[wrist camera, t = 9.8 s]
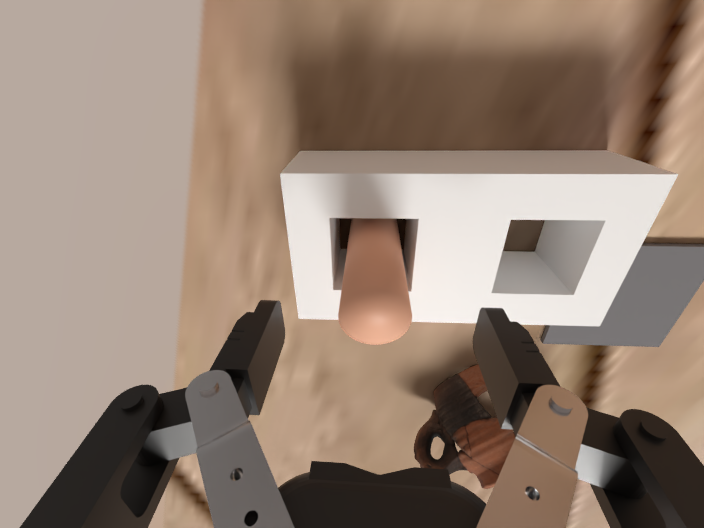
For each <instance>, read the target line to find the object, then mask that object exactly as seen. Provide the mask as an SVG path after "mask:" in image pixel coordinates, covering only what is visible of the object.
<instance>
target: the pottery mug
mask: <svg viewBox="0 0 704 528" xmlns="http://www.w3.org/2000/svg"><path fill="white" fill-rule="evenodd" d="M485 391H487V387H486V384H485V382H484V379H483V376H482V373H481V370H480V367H479V364H478V365H475V366H472V367H470V368H468V369H465V370H464V371H462V372H460V373H459V374H456V375H454V376H453V377H451V378H450V379H447V380H446V381H444V382H443V383H441V384H440V385H439V386H438V387H437V388H436V389H435V391H434V392H433V394H434V398H435V406H436V410H433V412H432V416H431V418H430V419H429V420H428V421H427V422H426V423H425V424H424V425H423V426H422V428H420V430H419V432H418V434H417V436H416V439H415V443H414V453H415V459H416V460H417V461H418V462H419V463H420V467H421V468H432V469H448V471H449V474H451V473H453V472H455V471H458V470H468V471H469V472H470V473H474V474H475V475H476V476H477V478H478V479H479V481H480V483H481V486H482V488H484V489H489V488H491V487H494V486H495V484H496V481H497V479H498V477H499V474H500V472H501V470H502V468H503V465H504V463H505V461H506V458H507V456H508V454H509V452H510V449H511V447H512V445H513V442H514V440H515V438H516V436H515V434H514V432H513V430H512V429H501V427H500V424H499V422H498V419H497V418H491V416H490V414H489V413H488V412H487V411H486V410H485V409H484V408H483V406H482V405H481V404H480V403H479V401H478V399H477V397H479V396H480V395H481V394H482V393H484V392H485ZM437 436H438V437H439V438H441V439H442V441H443V442H444V443H445V447H444V450H443V455H442V457H441V458H440V459H438V460H436V459H434V458H433V457H432V456H431V450H430V449H431V444H432V441H433V438H434V437H437ZM455 442H456V443H457V445H458V446H459V447H460V448H461V449H462V450H460V451H459V452H458V451H457V449H456V447H455Z"/></svg>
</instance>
